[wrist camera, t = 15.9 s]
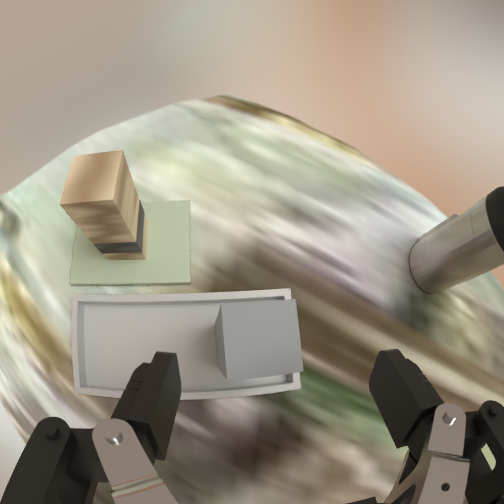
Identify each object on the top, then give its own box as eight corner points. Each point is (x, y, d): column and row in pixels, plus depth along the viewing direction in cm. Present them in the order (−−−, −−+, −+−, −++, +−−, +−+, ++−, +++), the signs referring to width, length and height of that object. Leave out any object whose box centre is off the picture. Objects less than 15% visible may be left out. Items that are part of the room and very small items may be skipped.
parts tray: (85, 390, 25) (75, 393, 23) (82, 299, 29) (72, 294, 27) (292, 385, 30) (301, 388, 27) (283, 293, 34) (290, 288, 31)
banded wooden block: (108, 260, 31) (59, 204, 18) (112, 223, 32) (73, 156, 20) (146, 259, 32) (113, 199, 19) (148, 221, 33) (123, 149, 20)
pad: (72, 285, 30) (69, 283, 29) (82, 209, 33) (80, 206, 32) (191, 284, 33) (190, 282, 32) (190, 204, 36) (190, 200, 35)
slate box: (218, 367, 29) (227, 380, 16) (214, 324, 30) (221, 303, 17) (261, 363, 30) (303, 371, 17) (257, 321, 31) (295, 298, 18)
